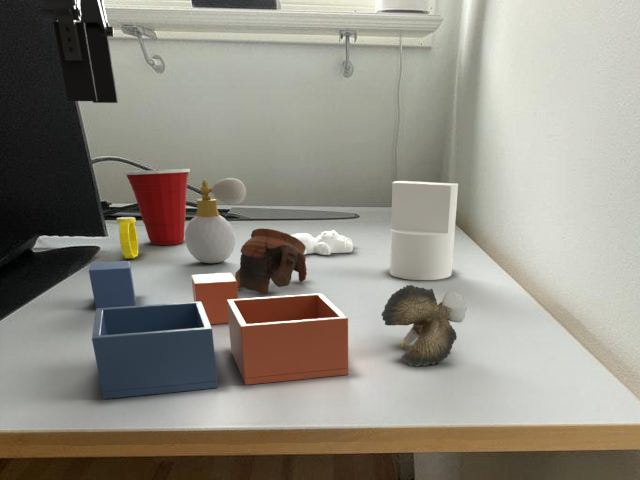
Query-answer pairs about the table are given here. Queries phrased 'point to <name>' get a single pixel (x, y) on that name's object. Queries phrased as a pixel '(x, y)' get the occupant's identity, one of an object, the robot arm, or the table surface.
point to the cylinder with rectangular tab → (422, 229)
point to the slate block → (112, 284)
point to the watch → (128, 236)
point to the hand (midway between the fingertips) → (95, 102)
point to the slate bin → (154, 349)
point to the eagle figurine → (425, 322)
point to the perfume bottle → (213, 222)
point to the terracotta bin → (287, 338)
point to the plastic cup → (161, 203)
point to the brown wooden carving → (270, 260)
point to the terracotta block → (215, 294)
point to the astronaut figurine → (325, 243)
